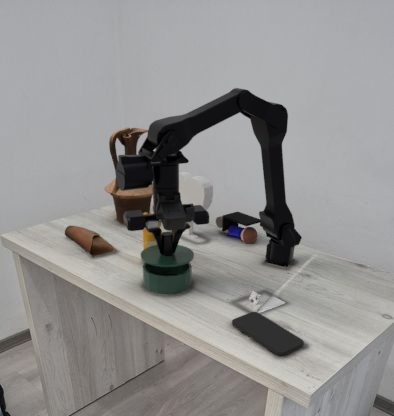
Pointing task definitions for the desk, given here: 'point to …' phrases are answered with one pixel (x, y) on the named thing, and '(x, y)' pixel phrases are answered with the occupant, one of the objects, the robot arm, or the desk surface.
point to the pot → (167, 278)
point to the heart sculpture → (194, 194)
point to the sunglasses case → (89, 240)
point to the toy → (148, 237)
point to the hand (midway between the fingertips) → (167, 253)
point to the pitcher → (122, 199)
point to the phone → (268, 333)
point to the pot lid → (167, 253)
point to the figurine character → (232, 228)
